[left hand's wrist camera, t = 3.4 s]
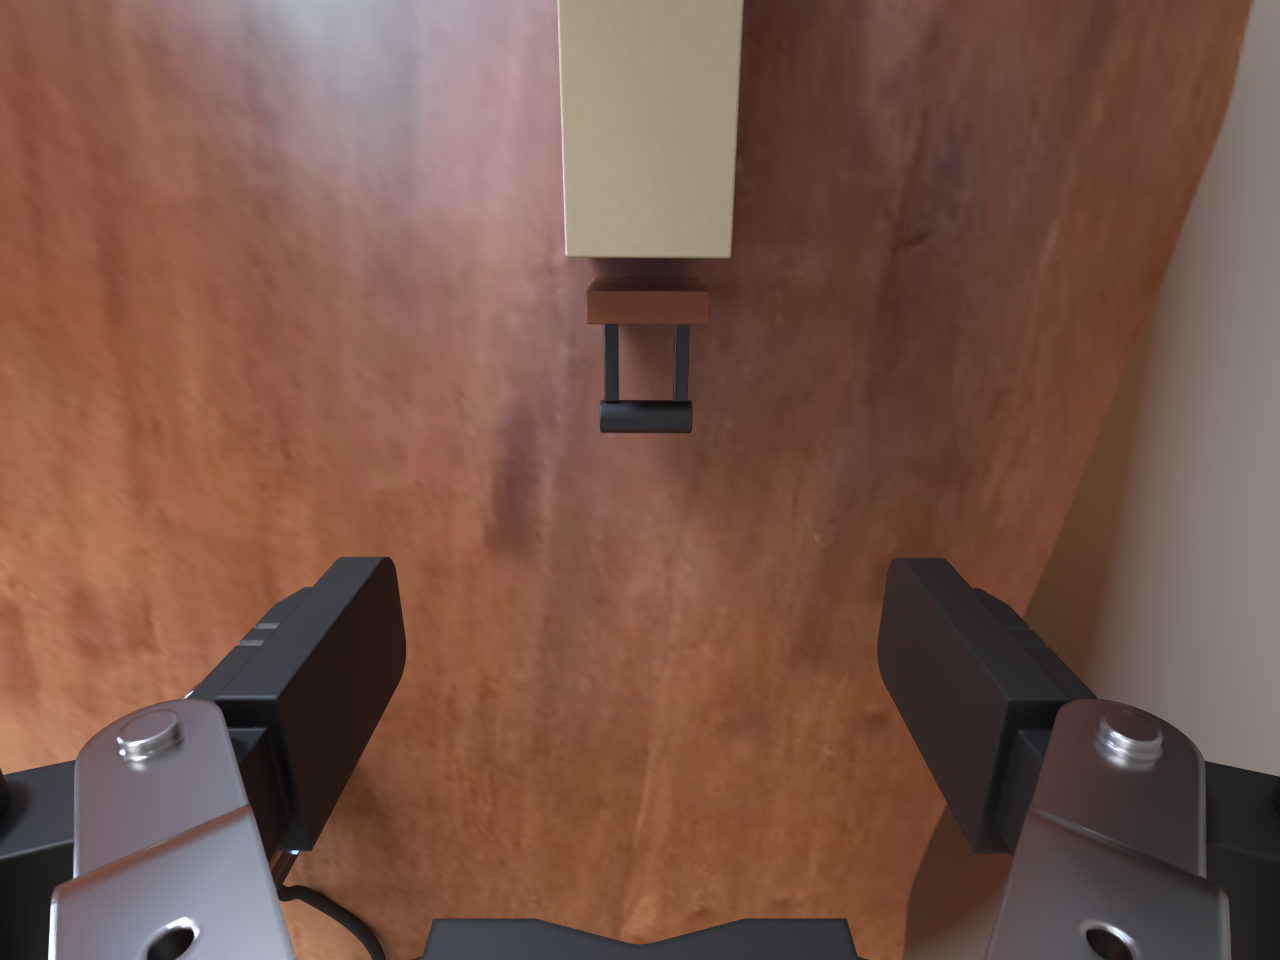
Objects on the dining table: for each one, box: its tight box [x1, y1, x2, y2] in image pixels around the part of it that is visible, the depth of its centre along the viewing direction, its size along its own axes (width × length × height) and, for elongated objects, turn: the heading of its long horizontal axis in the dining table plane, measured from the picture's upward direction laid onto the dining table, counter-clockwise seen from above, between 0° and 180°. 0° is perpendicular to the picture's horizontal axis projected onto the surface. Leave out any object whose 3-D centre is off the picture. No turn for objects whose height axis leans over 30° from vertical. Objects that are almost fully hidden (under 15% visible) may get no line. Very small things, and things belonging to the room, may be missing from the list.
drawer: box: [586, 277, 710, 433], centre depth 26 cm, size 25×5×6 cm, turn 0°
